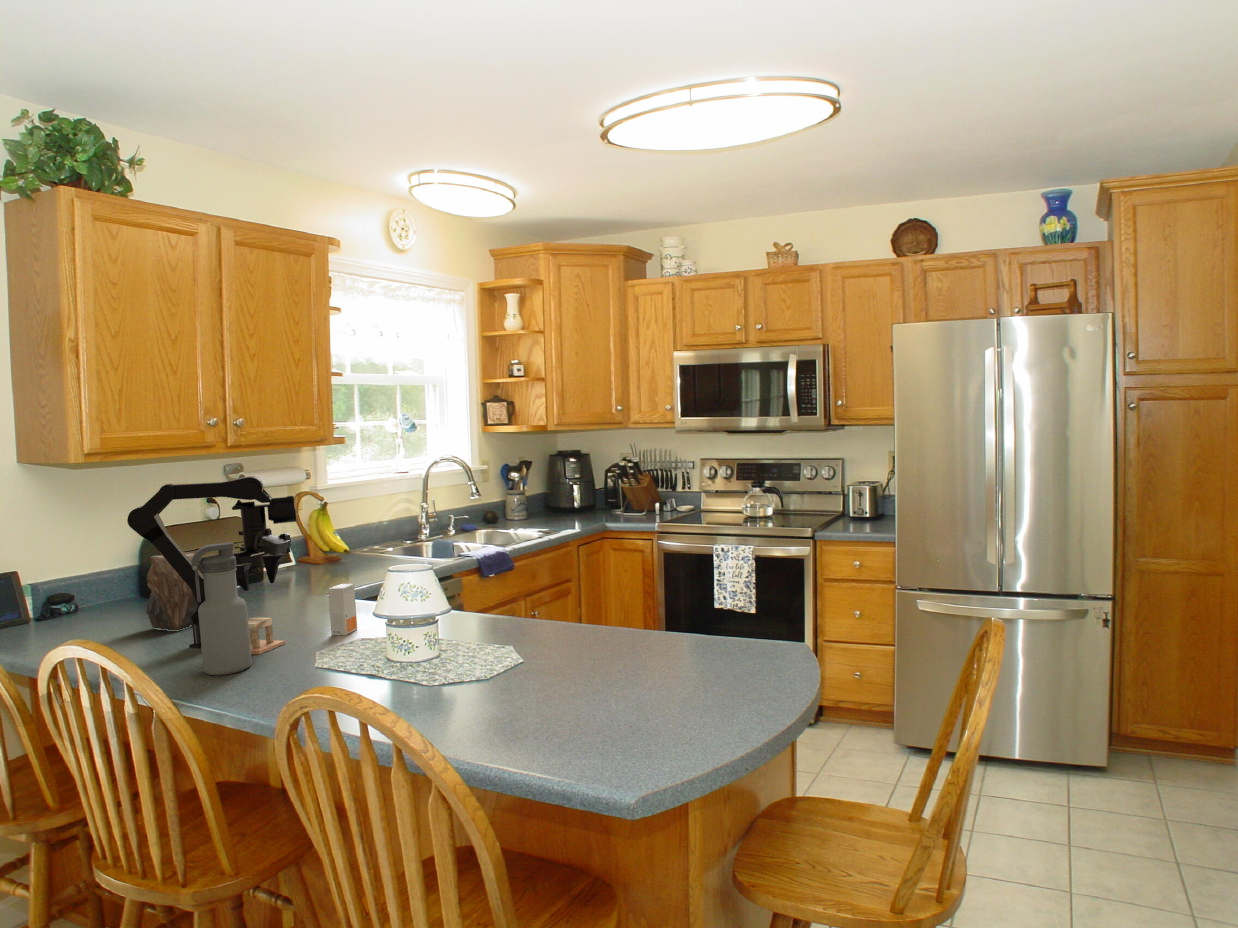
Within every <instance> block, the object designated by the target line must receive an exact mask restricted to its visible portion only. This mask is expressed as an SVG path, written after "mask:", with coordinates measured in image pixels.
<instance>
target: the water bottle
mask: <svg viewBox="0 0 1238 928" xmlns="http://www.w3.org/2000/svg"><path fill="white" fill-rule="evenodd" d="M234 548H235V543H234V542H232V541H231V542H222V543H213V544H207V545H203V546H202V547H200V548H199V549H197V550H196V551H195V552H194V553H195V554H194V555H193V557H192V562H191V563H192V569H193V570H194V571H195V581H196V592H197V601H198V602H201V596H200V586H199V577H198V570H199V569H201V571H203V572H202V574H203V579H204V589H205V601H204V602H203V603H202V604H201V605H200V607H199V609H198V614H199V625H200V636H201V647H200V648H201V655H202V656H201V657H202V665H203V666H202V667H203V672H204V673H205V674H206V675H210V676H225V675H232V674H236V673H240V672H243V671H245V670H247V669H248V668H250V667H251V666H252V654H251V649H250V636H249V626H248V619H249V618H248V607H247V606H248V605H247V602H246V600H245V599H243V598H242V597H240V596H239V594H238V583H237V582H238V581H237V579H236V570H237V568H236V557H235V556H234V554H233V551H234ZM216 551H218V554H216V555H210V556H207V557H204V558H202V560H201V563H200V564H198V560H199V559H200V557H201V556H204V555H205V554H208V553H211V552H216Z"/></svg>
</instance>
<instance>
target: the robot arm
mask: <svg viewBox="0 0 1238 928" xmlns="http://www.w3.org/2000/svg"><path fill="white" fill-rule="evenodd" d="M205 498H230V499H235V500H236V499H237V500H236V503H235V504H234V505H233V506H232V507H231V510H233V511H236V510H237V511H238V510H240V519H241V530H240V531H239V530H238V536H242V543H243V546H241V547H239V550H233V554H234V556H235V557H236V568H237V570H236V581H237V582H238V583H239V585H240V586H241V588H242V590H243V591H244V592H248V591H249V586H250V583H249V582H250V581H249V569H250V567H251V566H252V563H250V562H251V559H254V558H258V557H261V558H262V561H263V565H264V568H265V571H266V572H265V573H266V575H267V578H268V581H269V583H270V584H274V583H275V582H276V578H277V573H278V570H279V567H280V563H281V561H283V559H284V558H285V557H287V556H288V553H291V545H292V539H291V534H289V533H287V532H283V533H280V534H279V535H278V534H277V535H273V532H272V530H271V528H269V527H267V520H268V521H271V522H273V524H274V525H277V524H287V523H297V521H298V520H297V519H298V518H297V508H296V505H295V503H296V502H295V496H294V495H286V496H282V497H281V496H280V497H272V496H271V494H269V493H268V492H267V491H266V490H265V488H264V483H263V482H262V480H261V479H260V478H259V477H257V476H255V475H249V476H245V477H244V476H243V477H240V478H235V479H231V480H225V481H216V482H214V481H213V482H198V483H196V482H194V483H178V484H175V483H174V484H173V483H166V484H164V485H162V486H161V487H160V488H159V490H158V491H157V492H156V493H155V494H154V495H152V497H151V498H150V499H148V500H147V502H145V503H144V504H143V505H140V506H138V507H136V508H134V509H132V510H131V511H130V512H129V513H128V515H127V518H126V519H127V524H128V526H129V528H130V529H132V531H134V532H135V533H136V534H138V535H139V536H140V537H141V538H143V539H145V541H147V542H149V543H151V544H152V545H153V546H154V548H156V550H157V551H158V552H159V553H160V554H161V556H163V557H164V558H165V559H166V560H167V561H168V563H169V564H170V565H171V566H172V567H173V568H174V570H175V571H176V572H177V573H178V574H179V575H180V577H181V578H182V579H183V580H184V581H185V583H186V584H187V585H188V586H189V587H190V589H191V591H192V593H193V596H194V598H195V600H196V602H197V604H198V606H199V607H200V605H201V604H202V603H203V602H204V601H205V589H204V579H203V575H202V573H201V572H200V571H199V570H198V577H199V586H200V596H201V602H198V601H197V592H196V581H195V571H194V570H193V569H192V563H191V560H190V559H189V558H188V557H187V556H186V554H185V553H186V552H185V551H183V550H182V549H181V547H180V546H179V545H178V544H177V543H176V542H175V540H174V539H173V538H172V537H171V535H170V534H169V533H168V531H167V528H166V526H165V523H164V521H163V520H162V518H161V516H160V514H161V513H162V512H163V511H164V510H165V509H166V508H167V507H168V506H169V504H171V502H172V501H173V500H191V499H205ZM241 500H245V502H243V501H241ZM252 500H254V501H252ZM255 500H256V501H257V502H259V503H262V504H256V502H255ZM267 503H268V504H267ZM266 508H267V519H266ZM184 552H185V553H184ZM199 607H198V608H197V609H196V610H195V612H194V613H193V615H192V616H191V619H192V627H191V628H192V636H193V637H192V638H193V643H191V644H189V645H188V646H189V647H188V648H202V647H201V636H200V625H199V614H198V609H199Z"/></svg>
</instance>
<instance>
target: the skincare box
mask: <svg viewBox="0 0 1238 928" xmlns="http://www.w3.org/2000/svg"><path fill="white" fill-rule="evenodd" d="M327 590H328V591H327V592H328V593H327V595H328V606H329V620H330V621H329V622H330V635H331V636H347V635H348V634H350V633H353V632H354V631H357V630H358V620H357V608H356V607H357V606H356V605H357V604H356V592H355V584H354V583H340V584H338V585H334V586H332V587H329V588H328V589H327Z"/></svg>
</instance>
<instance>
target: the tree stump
mask: <svg viewBox="0 0 1238 928" xmlns="http://www.w3.org/2000/svg"><path fill="white" fill-rule="evenodd" d="M183 552H184V553H185V554H186V556H187V557H188V558H189V559H190V560H191V562H192V557H193V555H194V554H195V552H185V551H183ZM202 556H203V555H202ZM202 556H201V557H200V559H199V560H198V564H200V563H201V560H202V559H203V557H202ZM149 560H150V562H151V564H150V565H151V566H150V567H149V570H148V572H147V575H146V583H147V585H146V586H147V587H148V589H149V590H150V592H151V593H150V594H149V598H148V600H147V601H148V602H147V606H146V609H145V613H146V615H147V618H148V620H149V622H150V624H151V627H152V628H153V627H154V628H161V629H168V630H180V629H183V628H186V627H189V626H190V625H192V619H191V616H192V615H193V613H194V612H195V610H196V609H197V608H198V607H199V606H198V604H197V602H196V600H195V598H194V596H193V593H192V591H191V589H190V587H189V586H188V585H187V584H186V583H185V581H184V580H183V579H182V578H181V577H180V575H179V574H178V573H177V572H176V571H175V570H174V568H173V567H172V566H171V565H170V564H169V563H168V561H167V560H166V559H165V558H164V557H163V555H151V556H150V557H149ZM199 571H200V572H201V573H202V572H203V571H201V569H199ZM202 575H203V574H202Z"/></svg>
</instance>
